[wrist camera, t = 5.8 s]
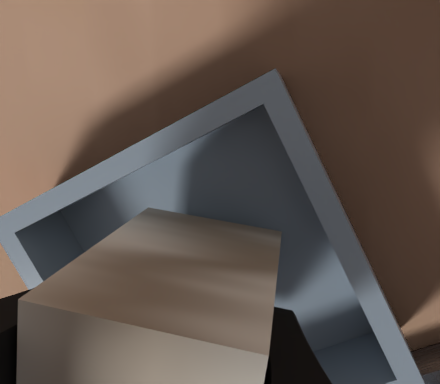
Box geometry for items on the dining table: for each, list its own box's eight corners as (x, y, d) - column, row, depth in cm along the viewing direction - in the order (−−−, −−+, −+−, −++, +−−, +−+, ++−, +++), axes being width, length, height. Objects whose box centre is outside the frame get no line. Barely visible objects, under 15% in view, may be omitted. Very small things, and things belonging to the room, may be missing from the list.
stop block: (281, 231, 12) (269, 356, 6) (260, 353, 13) (230, 565, 7) (148, 207, 12) (18, 298, 7) (137, 326, 13) (13, 499, 7)
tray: (167, 405, 16) (139, 473, 13) (47, 197, 15) (-12, 222, 12) (400, 329, 14) (428, 392, 11) (280, 74, 12) (275, 68, 10)
